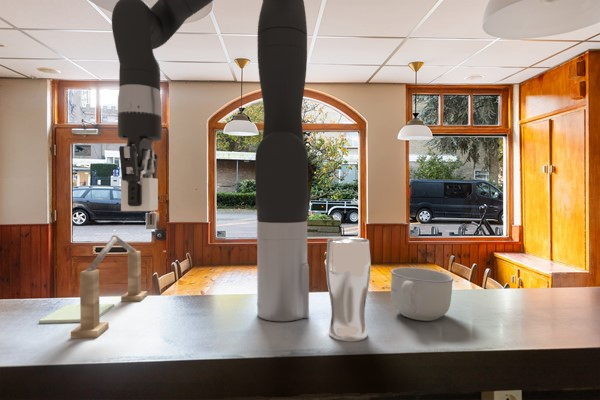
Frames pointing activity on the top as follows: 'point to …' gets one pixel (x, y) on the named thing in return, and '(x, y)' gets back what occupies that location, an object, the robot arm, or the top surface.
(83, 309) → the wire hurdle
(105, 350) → the top surface
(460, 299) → the top surface
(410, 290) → the teacup
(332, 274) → the beer glass
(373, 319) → the top surface
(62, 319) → the mat
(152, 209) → the cream block
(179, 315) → the top surface
